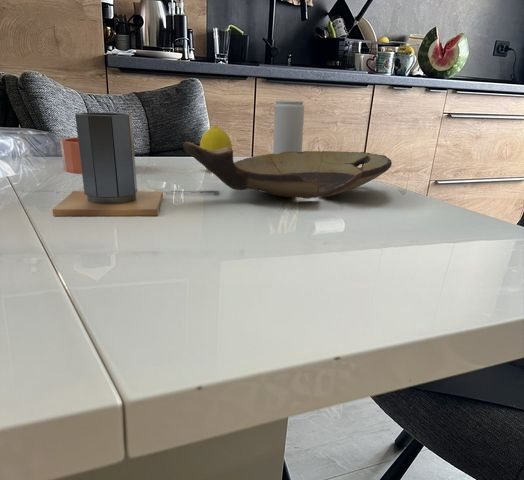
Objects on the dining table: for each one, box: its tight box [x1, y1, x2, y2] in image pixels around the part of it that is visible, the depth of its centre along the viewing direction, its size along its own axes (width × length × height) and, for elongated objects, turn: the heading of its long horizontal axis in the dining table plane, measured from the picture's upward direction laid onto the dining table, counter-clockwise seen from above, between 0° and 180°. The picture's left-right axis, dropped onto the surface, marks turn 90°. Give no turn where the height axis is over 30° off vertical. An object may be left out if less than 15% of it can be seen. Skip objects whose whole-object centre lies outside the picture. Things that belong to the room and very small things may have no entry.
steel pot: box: [74, 111, 138, 204], centre depth 67 cm, size 6×6×10 cm
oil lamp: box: [182, 141, 393, 200], centre depth 78 cm, size 22×30×8 cm
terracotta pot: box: [59, 136, 82, 175], centre depth 92 cm, size 11×11×6 cm
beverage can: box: [272, 100, 305, 154], centre depth 91 cm, size 5×5×12 cm
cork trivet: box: [52, 190, 164, 217], centre depth 70 cm, size 12×12×1 cm
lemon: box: [199, 125, 233, 169], centre depth 93 cm, size 6×6×8 cm
